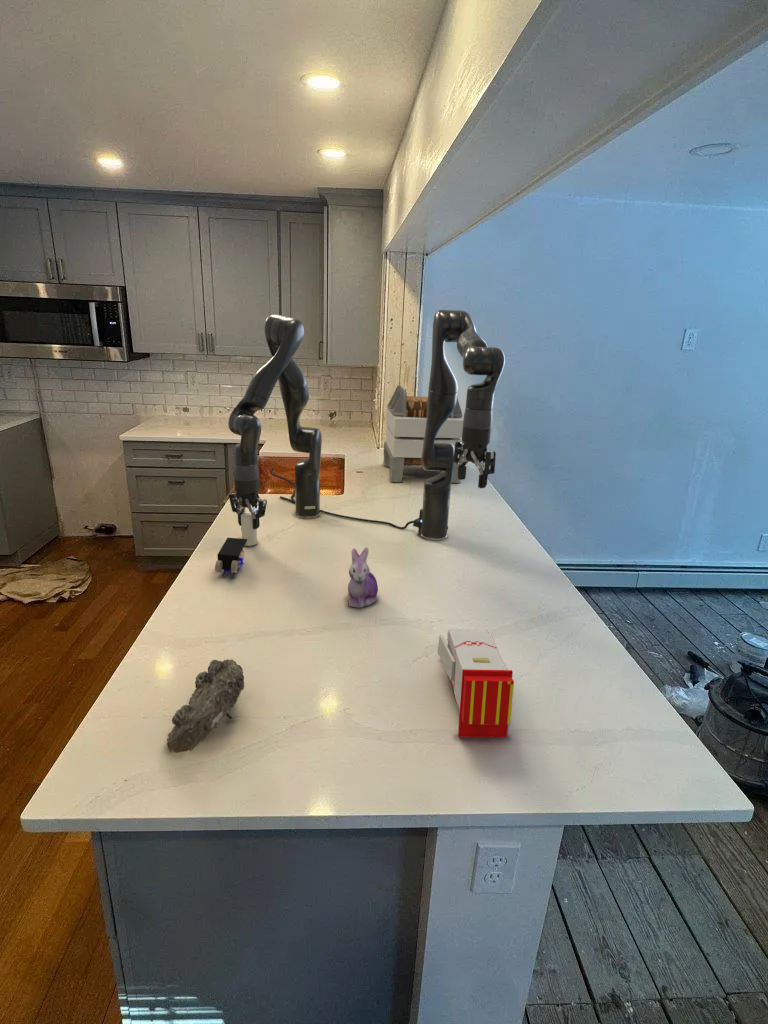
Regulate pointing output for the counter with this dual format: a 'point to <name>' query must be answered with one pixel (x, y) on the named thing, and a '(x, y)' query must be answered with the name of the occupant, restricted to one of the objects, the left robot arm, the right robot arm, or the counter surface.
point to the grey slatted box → (414, 432)
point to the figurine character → (230, 556)
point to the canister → (248, 529)
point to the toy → (478, 682)
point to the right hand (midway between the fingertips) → (471, 483)
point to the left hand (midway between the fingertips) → (248, 526)
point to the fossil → (206, 705)
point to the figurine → (361, 581)
